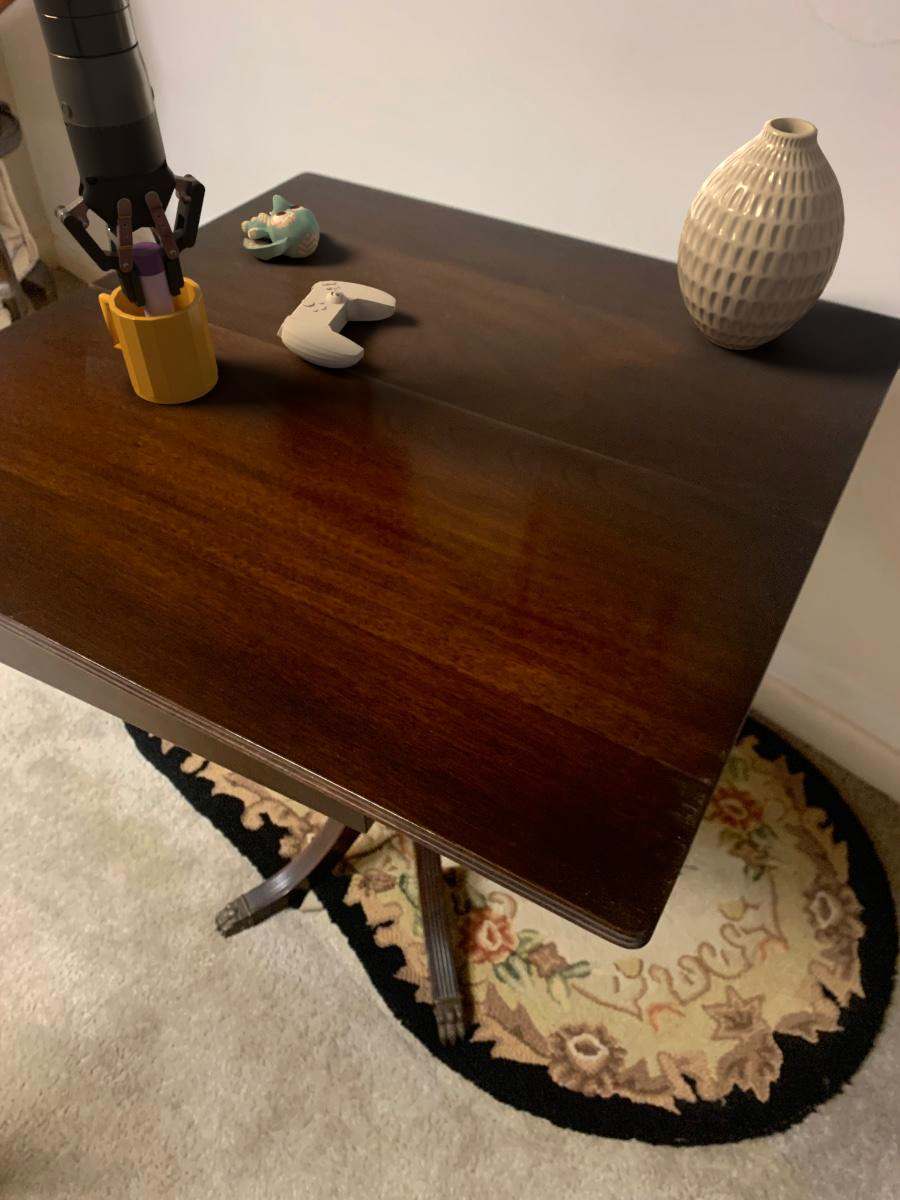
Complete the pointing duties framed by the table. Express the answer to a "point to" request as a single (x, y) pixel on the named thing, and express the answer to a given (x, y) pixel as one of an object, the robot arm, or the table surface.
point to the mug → (164, 346)
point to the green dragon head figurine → (282, 231)
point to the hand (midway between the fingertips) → (155, 297)
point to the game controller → (333, 322)
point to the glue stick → (152, 278)
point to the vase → (761, 237)
